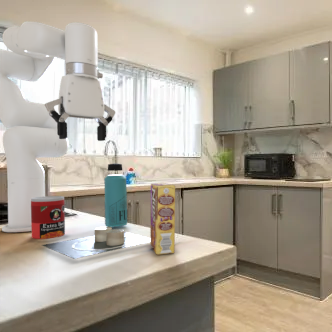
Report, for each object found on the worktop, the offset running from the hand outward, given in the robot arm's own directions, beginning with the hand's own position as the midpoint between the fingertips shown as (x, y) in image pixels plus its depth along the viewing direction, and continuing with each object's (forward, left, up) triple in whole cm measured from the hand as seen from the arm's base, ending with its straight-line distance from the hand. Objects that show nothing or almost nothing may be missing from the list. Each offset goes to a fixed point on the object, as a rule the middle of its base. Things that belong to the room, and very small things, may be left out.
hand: (83, 139), depth 85 cm
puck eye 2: (+13, +2, -26) cm, 29 cm away
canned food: (-10, -5, -26) cm, 29 cm away
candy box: (+24, +7, -26) cm, 36 cm away
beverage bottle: (-6, +12, -26) cm, 30 cm away
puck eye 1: (+7, +2, -26) cm, 26 cm away
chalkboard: (+9, 0, -26) cm, 28 cm away
